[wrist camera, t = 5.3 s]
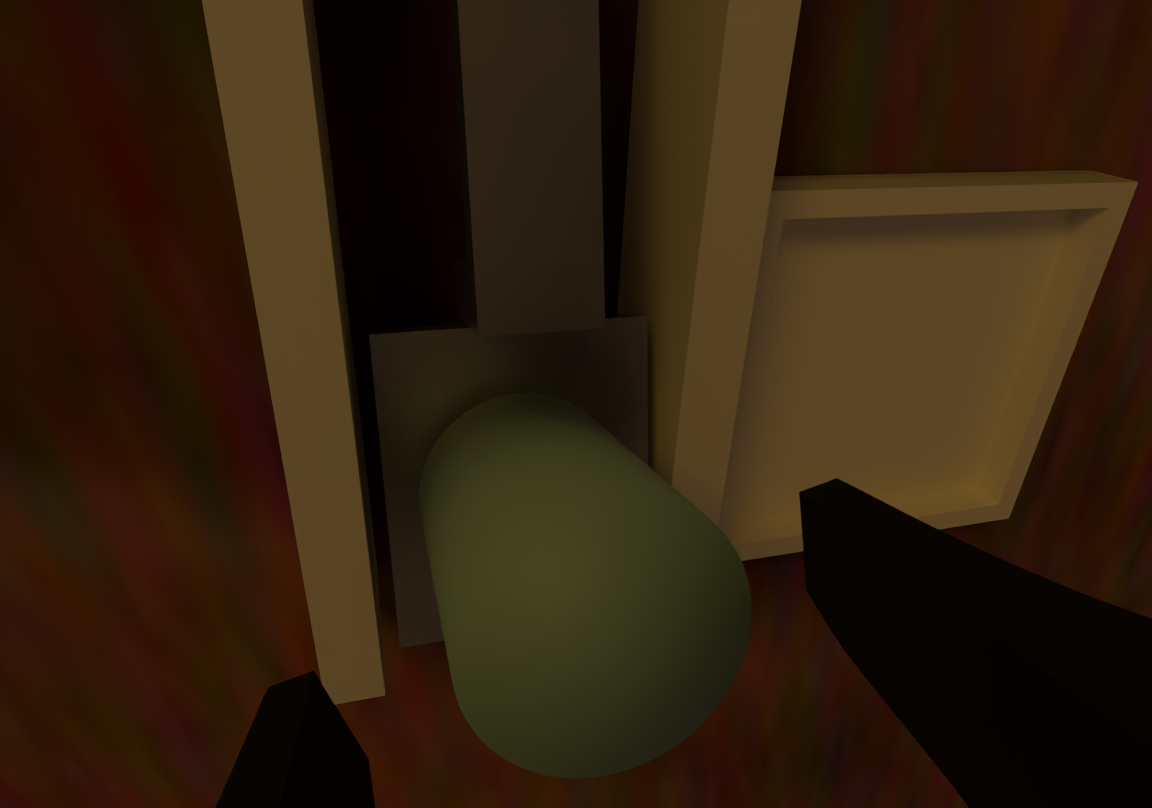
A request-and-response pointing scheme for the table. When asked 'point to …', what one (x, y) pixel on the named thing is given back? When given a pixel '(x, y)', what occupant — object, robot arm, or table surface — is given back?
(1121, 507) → the table surface
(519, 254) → the lever
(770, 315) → the tray
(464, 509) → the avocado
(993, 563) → the robot arm
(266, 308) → the beige h-shaped piece
